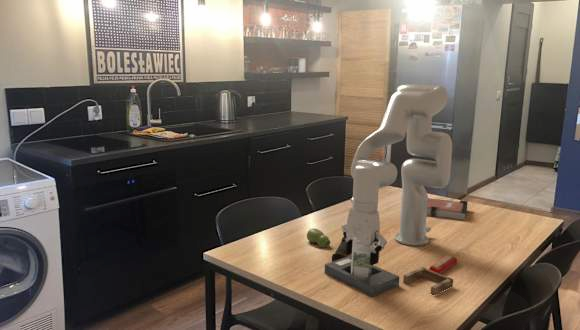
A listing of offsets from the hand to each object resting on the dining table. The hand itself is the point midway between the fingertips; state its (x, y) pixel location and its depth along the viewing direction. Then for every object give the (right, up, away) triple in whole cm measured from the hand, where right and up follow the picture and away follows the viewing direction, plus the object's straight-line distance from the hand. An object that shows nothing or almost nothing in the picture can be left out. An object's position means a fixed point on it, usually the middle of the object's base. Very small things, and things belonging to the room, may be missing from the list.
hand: (361, 258), depth 146 cm
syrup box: (0, -7, +2) cm, 7 cm away
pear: (-12, -1, +30) cm, 32 cm away
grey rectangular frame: (0, -7, +1) cm, 7 cm away
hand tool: (-4, -3, +21) cm, 22 cm away
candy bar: (+29, -6, +11) cm, 31 cm away
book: (+45, +7, +72) cm, 85 cm away
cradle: (+19, -8, -2) cm, 21 cm away
